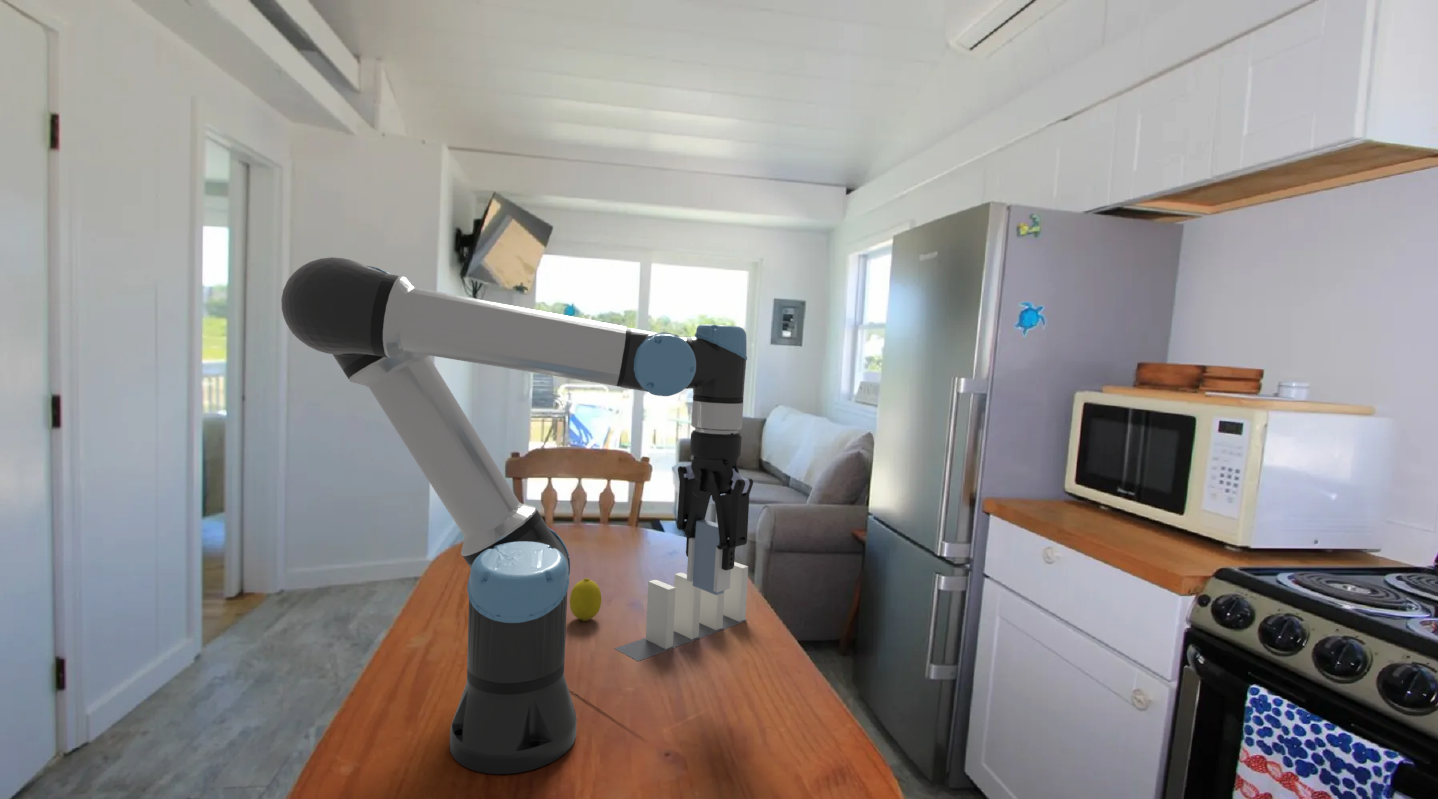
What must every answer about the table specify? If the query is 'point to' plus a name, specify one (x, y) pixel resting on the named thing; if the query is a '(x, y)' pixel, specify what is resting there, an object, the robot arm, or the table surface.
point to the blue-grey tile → (705, 555)
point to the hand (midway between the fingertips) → (708, 584)
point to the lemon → (585, 599)
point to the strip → (647, 649)
